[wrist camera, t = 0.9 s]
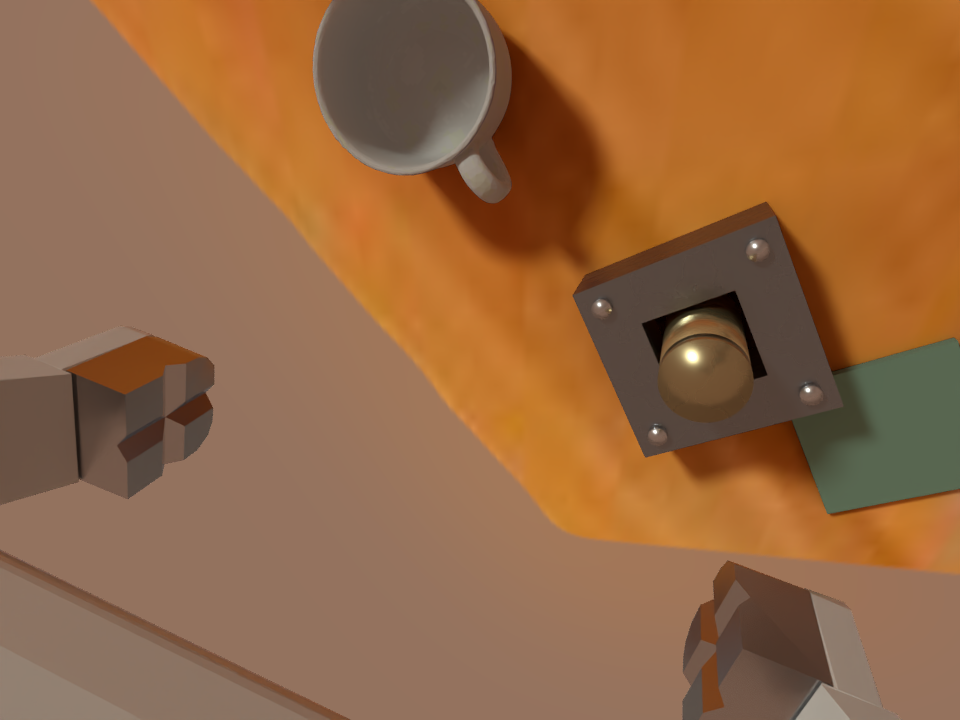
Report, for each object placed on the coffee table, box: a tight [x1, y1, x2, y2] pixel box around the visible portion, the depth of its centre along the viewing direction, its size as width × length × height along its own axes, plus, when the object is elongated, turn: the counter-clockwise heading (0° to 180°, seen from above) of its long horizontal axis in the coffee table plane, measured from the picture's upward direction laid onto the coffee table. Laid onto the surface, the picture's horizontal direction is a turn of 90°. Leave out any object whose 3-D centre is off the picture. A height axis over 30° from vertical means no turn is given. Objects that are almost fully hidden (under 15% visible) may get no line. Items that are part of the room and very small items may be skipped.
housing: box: [573, 202, 844, 457], centre depth 39 cm, size 12×12×6 cm
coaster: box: [792, 338, 960, 514], centre depth 40 cm, size 10×10×1 cm
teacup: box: [313, 0, 512, 203], centre depth 38 cm, size 14×11×8 cm
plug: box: [658, 294, 754, 423], centre depth 37 cm, size 5×5×10 cm
